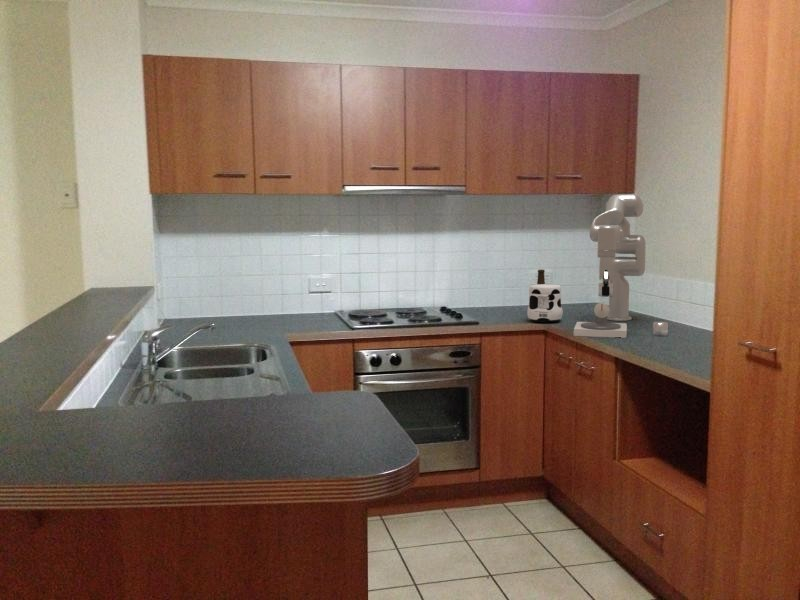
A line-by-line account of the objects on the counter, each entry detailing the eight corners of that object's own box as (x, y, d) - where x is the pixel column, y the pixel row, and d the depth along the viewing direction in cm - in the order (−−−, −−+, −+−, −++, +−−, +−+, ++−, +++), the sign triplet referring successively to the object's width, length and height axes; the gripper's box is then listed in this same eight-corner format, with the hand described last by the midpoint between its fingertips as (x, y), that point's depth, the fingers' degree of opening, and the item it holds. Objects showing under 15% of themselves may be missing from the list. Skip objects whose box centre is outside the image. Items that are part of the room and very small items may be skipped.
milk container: (549, 318, 352) (550, 283, 349) (569, 322, 335) (570, 286, 333) (520, 320, 345) (520, 285, 343) (539, 325, 329) (539, 288, 327)
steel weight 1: (598, 295, 305) (598, 282, 304) (612, 295, 303) (612, 283, 303) (598, 296, 299) (598, 284, 299) (612, 296, 298) (613, 284, 297)
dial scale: (577, 327, 319) (577, 301, 318) (626, 329, 312) (627, 302, 311) (573, 335, 298) (574, 307, 297) (626, 337, 291) (627, 309, 290)
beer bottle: (548, 315, 361) (548, 270, 358) (533, 315, 363) (533, 270, 360) (548, 313, 369) (548, 269, 366) (533, 313, 370) (533, 269, 367)
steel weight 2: (652, 333, 301) (653, 321, 300) (667, 334, 299) (667, 321, 298) (653, 336, 295) (653, 323, 295) (667, 336, 294) (668, 324, 293)
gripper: (597, 253, 308) (596, 292, 310) (597, 255, 292) (596, 296, 294) (615, 253, 306) (614, 292, 308) (615, 255, 290) (614, 297, 292)
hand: (605, 294), depth 301 cm, fingers closed on steel weight 1, 6 cm apart
